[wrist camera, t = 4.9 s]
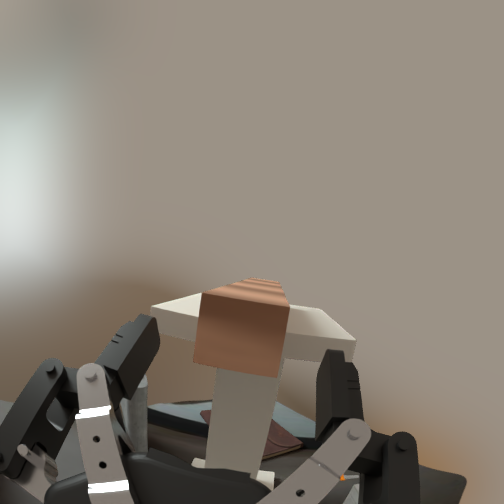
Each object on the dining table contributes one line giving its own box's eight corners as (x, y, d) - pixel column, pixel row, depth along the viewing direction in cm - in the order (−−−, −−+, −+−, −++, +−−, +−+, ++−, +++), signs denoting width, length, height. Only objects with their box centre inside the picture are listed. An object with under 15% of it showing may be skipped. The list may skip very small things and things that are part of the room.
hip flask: (114, 420, 43) (113, 334, 44) (132, 420, 45) (133, 335, 46) (133, 470, 30) (128, 371, 31) (155, 469, 32) (156, 372, 33)
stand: (275, 551, 17) (356, 340, 19) (153, 527, 18) (151, 306, 20) (278, 477, 35) (320, 308, 36) (188, 461, 36) (207, 291, 38)
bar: (277, 377, 10) (290, 306, 10) (192, 362, 10) (201, 292, 11) (275, 305, 34) (278, 281, 34) (247, 301, 34) (251, 277, 34)
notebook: (240, 466, 38) (241, 460, 38) (199, 415, 55) (200, 409, 55) (302, 448, 45) (304, 442, 45) (253, 409, 62) (254, 403, 62)
